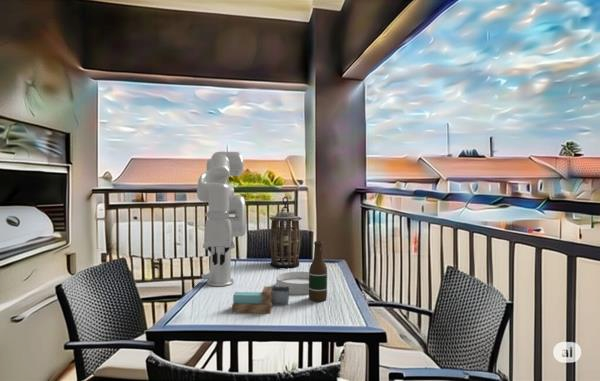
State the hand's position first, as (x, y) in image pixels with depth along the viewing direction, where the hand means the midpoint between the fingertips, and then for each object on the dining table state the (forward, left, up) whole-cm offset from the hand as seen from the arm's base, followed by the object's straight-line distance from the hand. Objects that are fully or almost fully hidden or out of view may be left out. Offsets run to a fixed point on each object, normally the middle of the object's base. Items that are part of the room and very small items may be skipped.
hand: (218, 264), depth 143 cm
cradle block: (+22, +10, -17) cm, 30 cm away
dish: (+30, +31, -18) cm, 47 cm away
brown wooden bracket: (+13, 0, -17) cm, 22 cm away
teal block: (+12, 0, -13) cm, 18 cm away
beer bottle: (+38, +14, -17) cm, 44 cm away
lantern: (+20, +76, -17) cm, 80 cm away
